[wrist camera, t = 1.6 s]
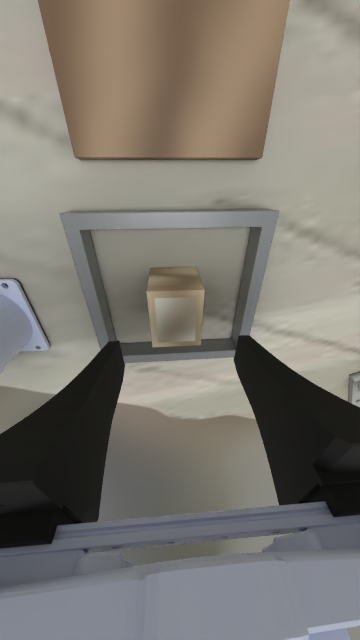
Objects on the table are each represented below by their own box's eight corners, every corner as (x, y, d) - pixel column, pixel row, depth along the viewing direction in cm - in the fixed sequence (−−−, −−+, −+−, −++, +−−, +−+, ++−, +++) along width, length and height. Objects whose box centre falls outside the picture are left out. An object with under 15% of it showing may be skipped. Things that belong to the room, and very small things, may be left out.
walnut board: (80, 159, 13) (74, 157, 12) (5, -176, 7) (-14, -222, 7) (256, 159, 14) (262, 157, 13) (306, -149, 8) (322, -188, 7)
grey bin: (109, 351, 22) (105, 363, 21) (71, 211, 15) (59, 213, 13) (238, 344, 23) (244, 356, 21) (266, 208, 15) (279, 210, 14)
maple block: (155, 315, 20) (152, 347, 16) (150, 267, 17) (146, 291, 13) (193, 313, 20) (200, 345, 16) (195, 266, 18) (204, 289, 13)
